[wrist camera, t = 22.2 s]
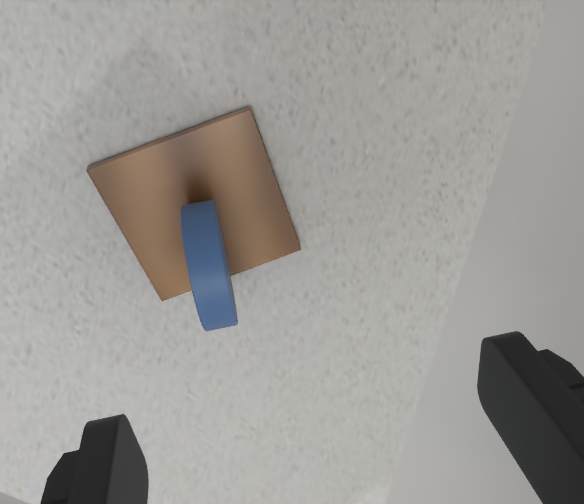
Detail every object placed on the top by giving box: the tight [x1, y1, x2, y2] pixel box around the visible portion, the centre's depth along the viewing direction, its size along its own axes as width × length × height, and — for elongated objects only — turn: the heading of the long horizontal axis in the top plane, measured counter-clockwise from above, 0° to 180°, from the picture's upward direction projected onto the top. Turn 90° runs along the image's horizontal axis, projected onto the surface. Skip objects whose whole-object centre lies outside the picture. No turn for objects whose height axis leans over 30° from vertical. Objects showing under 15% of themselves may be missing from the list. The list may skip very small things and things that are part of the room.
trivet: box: [87, 106, 301, 301], centre depth 35 cm, size 11×11×1 cm
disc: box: [180, 200, 238, 331], centre depth 32 cm, size 2×8×8 cm
